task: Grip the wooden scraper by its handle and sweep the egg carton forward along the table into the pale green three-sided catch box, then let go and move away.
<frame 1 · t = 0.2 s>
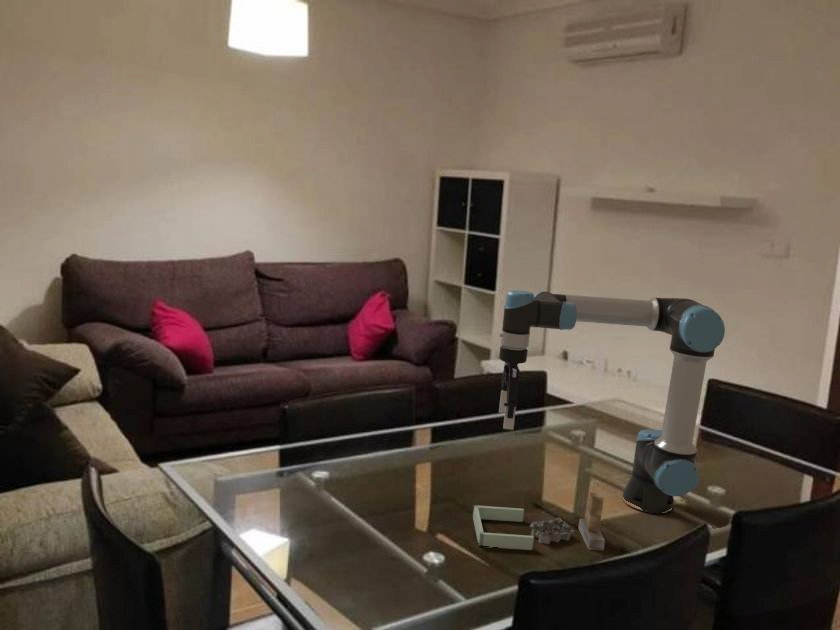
hand: (505, 420, 217), 28 cm above the table, tool pointing down, fingers open, 13 cm apart
catch box: (503, 533, 211), on the table
scraper: (590, 539, 212), on the table
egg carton: (550, 537, 211), on the table
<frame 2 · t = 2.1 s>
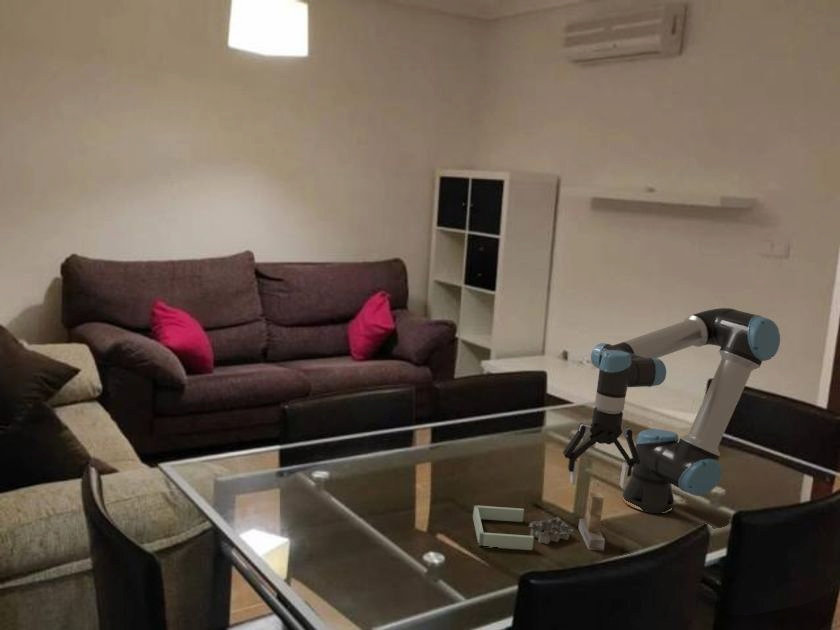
hand: (597, 485, 208), 16 cm above the table, tool pointing down, fingers open, 13 cm apart
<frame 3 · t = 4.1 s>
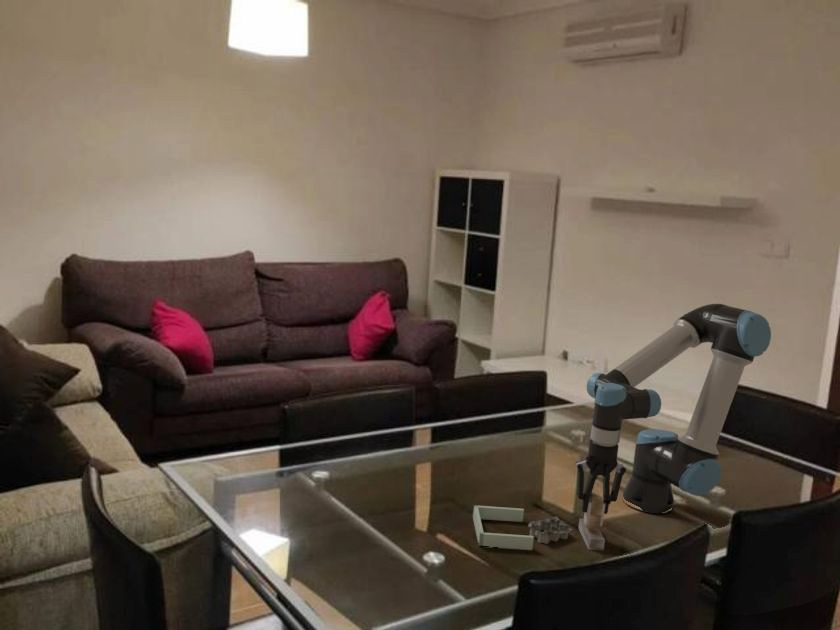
hand: (592, 523, 211), 5 cm above the table, tool pointing down, fingers closed on scraper, 3 cm apart
scraper: (590, 539, 212), on the table, touching gripper
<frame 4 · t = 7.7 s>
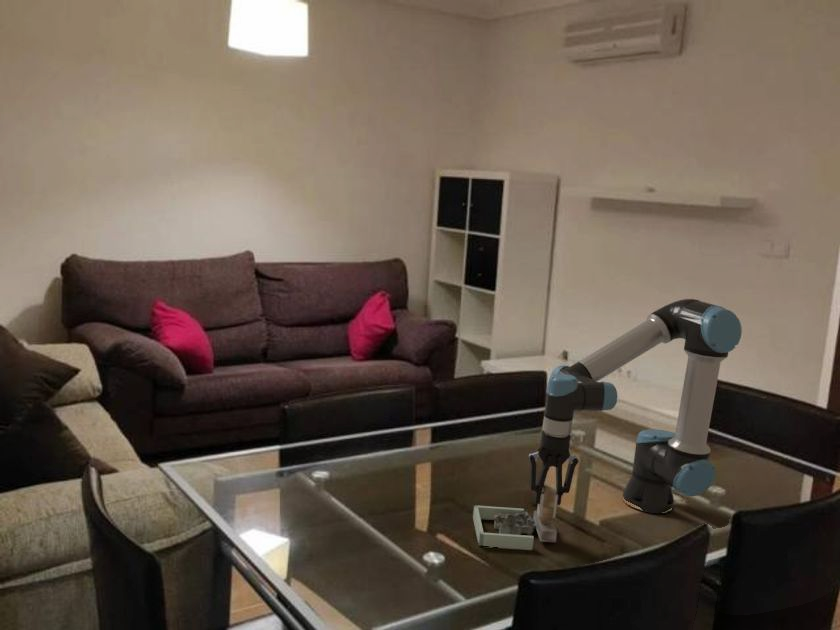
hand: (546, 514, 210), 6 cm above the table, tool pointing down, fingers closed on scraper, 3 cm apart
scraper: (544, 531, 211), point 1 cm above the table, touching gripper
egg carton: (513, 530, 213), on the table
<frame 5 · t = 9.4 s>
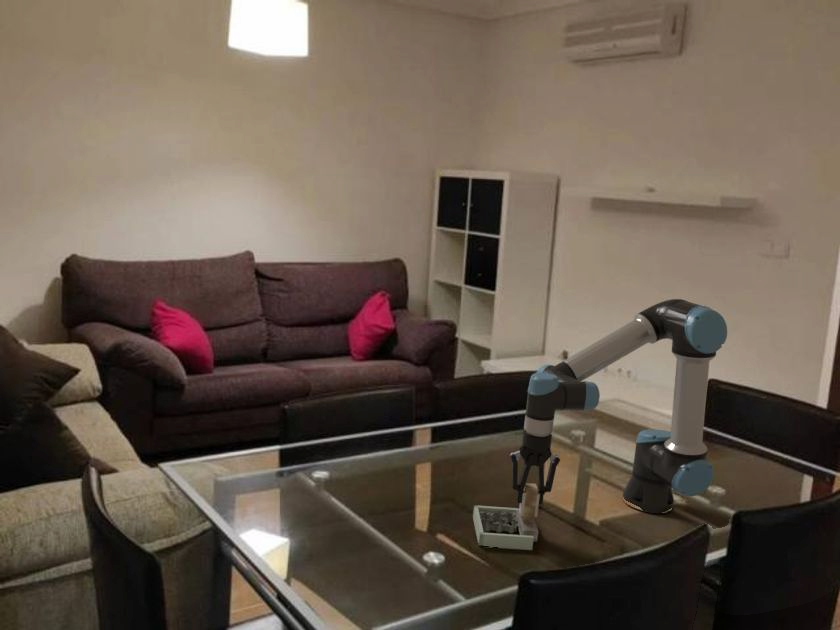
hand: (528, 514, 210), 6 cm above the table, tool pointing down, fingers closed on scraper, 3 cm apart
scraper: (526, 530, 211), point 1 cm above the table, touching gripper
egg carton: (497, 528, 214), on the table
when the fingers open (5 cm above the table, at t = 10.2 s): scraper stays where it is, on the table.
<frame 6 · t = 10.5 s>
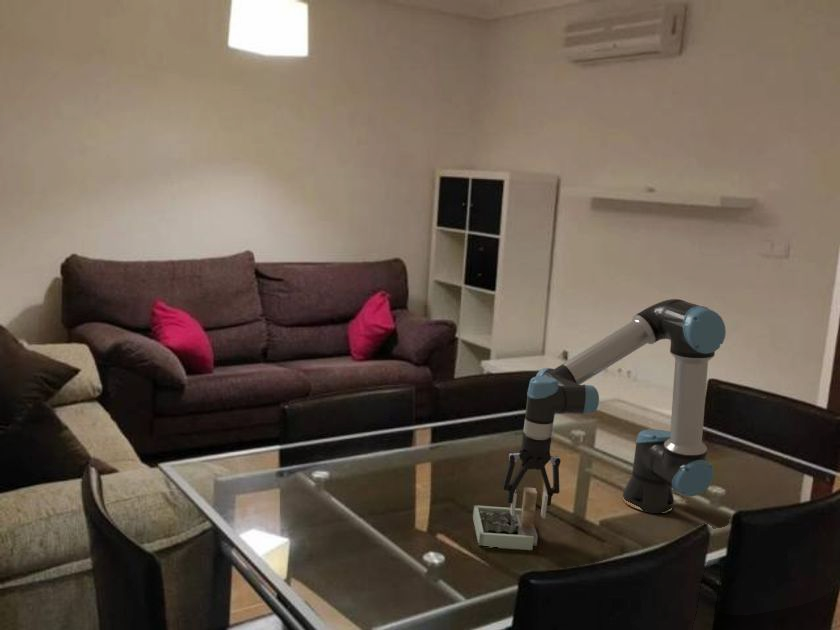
hand: (527, 515, 210), 6 cm above the table, tool pointing down, fingers open, 8 cm apart
scraper: (525, 534, 211), on the table
everything else where it was.
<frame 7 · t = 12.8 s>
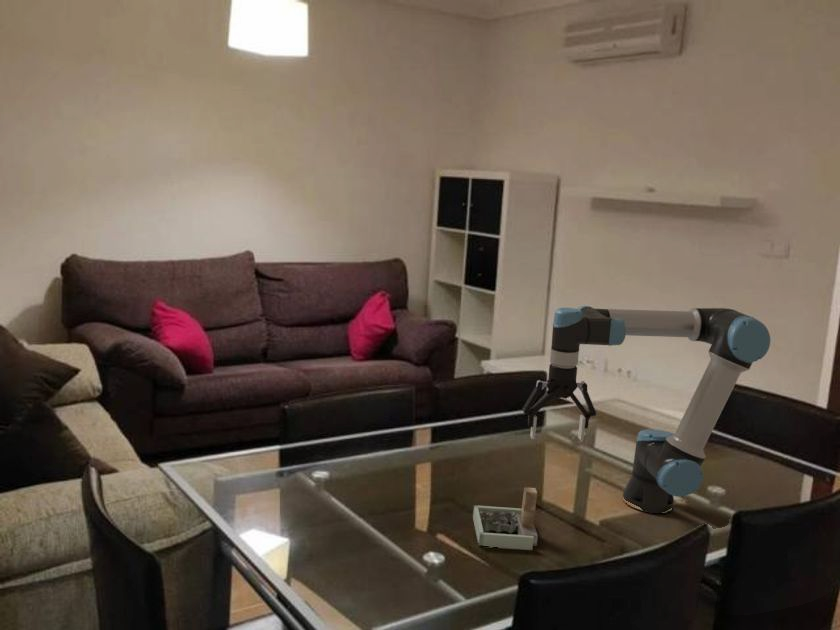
hand: (556, 438, 217), 24 cm above the table, tool pointing down, fingers open, 13 cm apart
nothing on the table moved.
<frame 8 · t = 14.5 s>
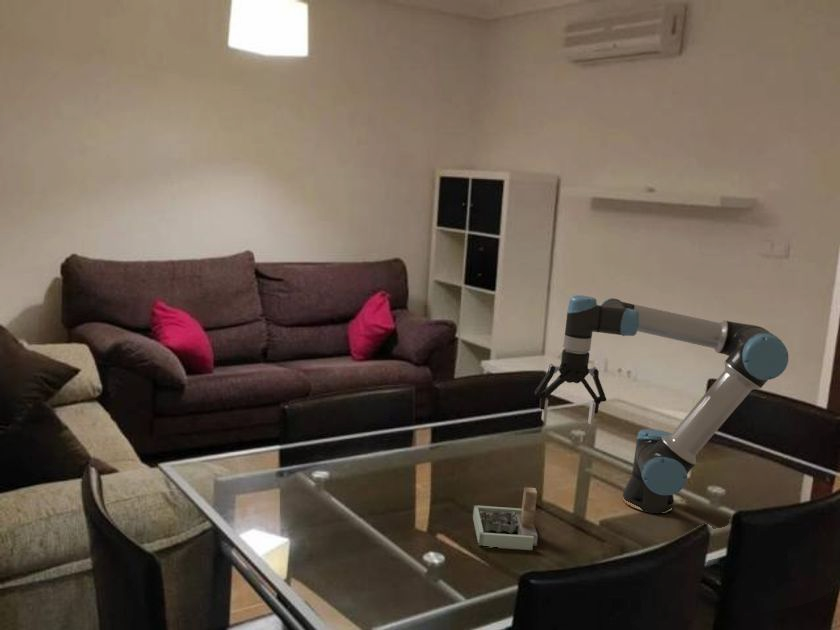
hand: (566, 422, 224), 27 cm above the table, tool pointing down, fingers open, 13 cm apart
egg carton: (496, 527, 214), on the table, touching catch box
everything else where it was.
at the end: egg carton inside the target area on the catch box (3.9 cm from its centre), point -0.5 cm above the catch box's base; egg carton tilted 0°; the gripper is holding nothing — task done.
